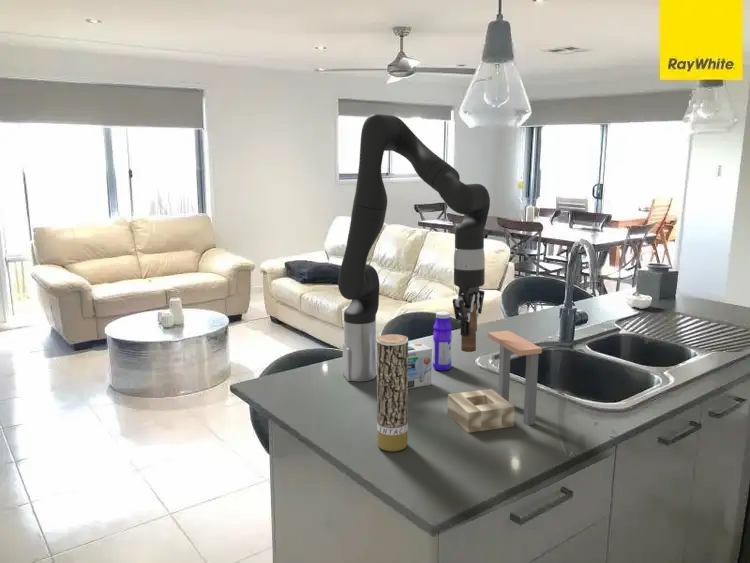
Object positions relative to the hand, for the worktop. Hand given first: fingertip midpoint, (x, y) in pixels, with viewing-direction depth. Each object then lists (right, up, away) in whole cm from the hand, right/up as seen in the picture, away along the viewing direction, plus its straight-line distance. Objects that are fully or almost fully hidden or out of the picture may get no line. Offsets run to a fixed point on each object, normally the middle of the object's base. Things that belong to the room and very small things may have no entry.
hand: (468, 333), depth 154 cm
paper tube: (-20, -24, -16) cm, 35 cm away
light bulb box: (-13, -16, +21) cm, 30 cm away
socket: (+2, -21, -3) cm, 21 cm away
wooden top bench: (+11, -20, +1) cm, 23 cm away
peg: (0, -4, +1) cm, 4 cm away
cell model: (+88, +2, +108) cm, 139 cm away
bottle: (-3, -14, +35) cm, 37 cm away
